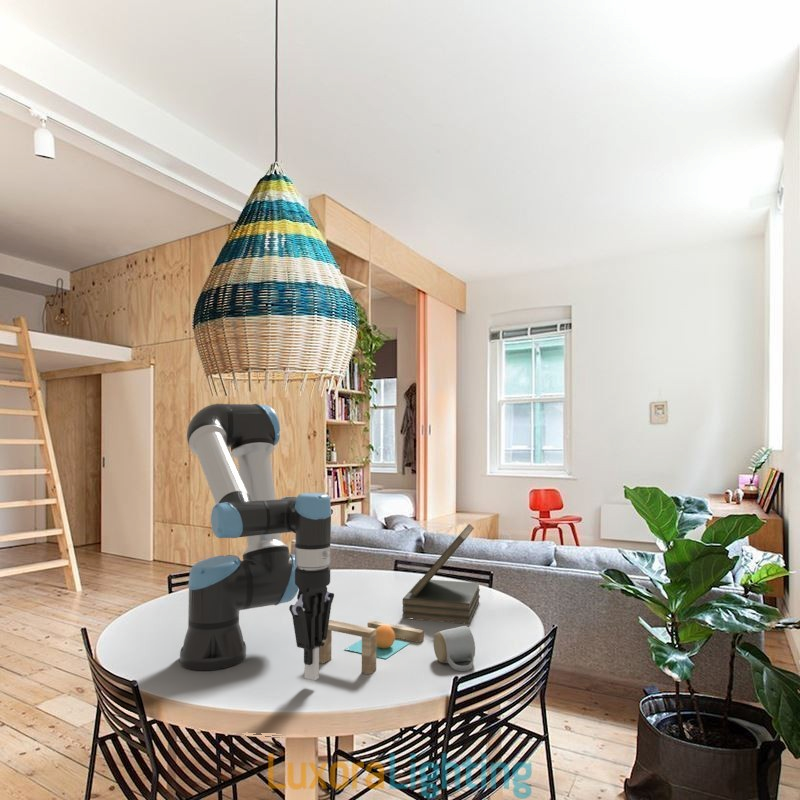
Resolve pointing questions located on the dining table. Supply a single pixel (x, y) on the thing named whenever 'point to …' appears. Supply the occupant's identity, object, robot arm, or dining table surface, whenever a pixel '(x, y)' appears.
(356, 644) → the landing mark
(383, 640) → the ball
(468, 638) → the ceramic mug
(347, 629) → the bridge
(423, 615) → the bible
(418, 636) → the stopper
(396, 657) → the dining table surface
